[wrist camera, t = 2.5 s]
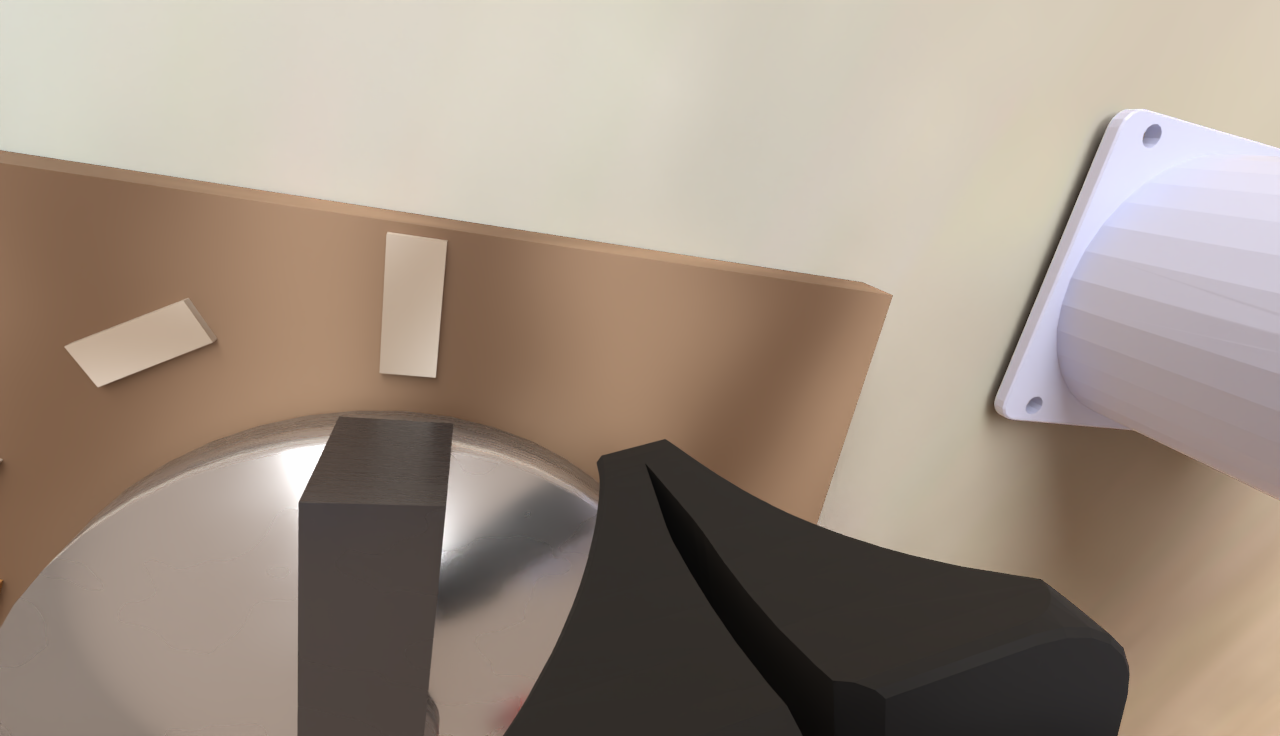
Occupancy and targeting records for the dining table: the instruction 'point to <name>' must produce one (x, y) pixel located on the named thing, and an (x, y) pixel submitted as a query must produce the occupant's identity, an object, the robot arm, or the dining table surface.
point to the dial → (309, 587)
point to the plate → (383, 341)
